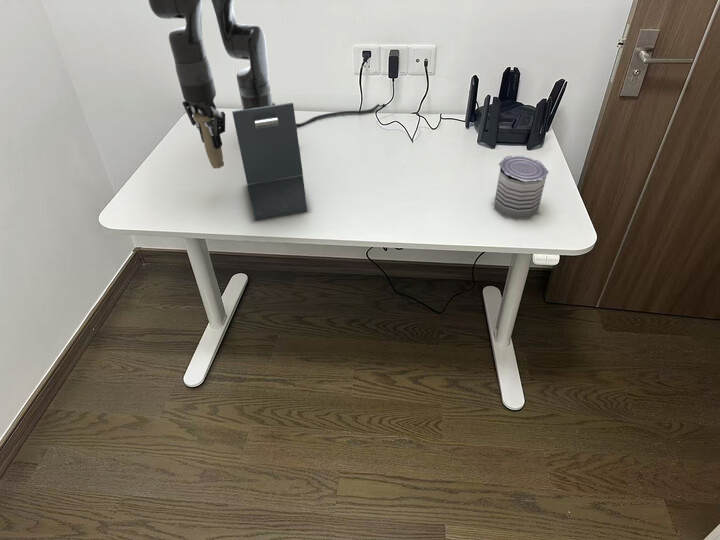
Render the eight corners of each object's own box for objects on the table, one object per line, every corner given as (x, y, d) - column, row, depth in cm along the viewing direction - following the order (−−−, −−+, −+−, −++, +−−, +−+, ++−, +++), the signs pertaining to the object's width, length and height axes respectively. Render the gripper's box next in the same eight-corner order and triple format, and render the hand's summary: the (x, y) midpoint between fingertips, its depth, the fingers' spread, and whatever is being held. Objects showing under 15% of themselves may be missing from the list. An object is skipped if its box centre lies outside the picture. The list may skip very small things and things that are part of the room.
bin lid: (232, 111, 116) (233, 119, 112) (292, 102, 118) (296, 109, 114) (246, 182, 126) (248, 192, 122) (302, 173, 129) (306, 182, 124)
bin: (248, 186, 146) (240, 151, 138) (296, 178, 148) (291, 143, 141) (254, 221, 134) (247, 185, 126) (307, 211, 136) (302, 175, 129)
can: (501, 190, 140) (508, 150, 132) (544, 201, 136) (554, 160, 128) (486, 212, 133) (493, 171, 125) (530, 225, 129) (540, 183, 121)
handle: (230, 159, 138) (217, 105, 128) (223, 172, 133) (209, 118, 123) (212, 159, 139) (198, 105, 128) (204, 172, 134) (189, 117, 124)
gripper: (228, 79, 119) (242, 147, 130) (189, 65, 126) (206, 130, 137) (201, 91, 115) (218, 159, 126) (163, 75, 122) (183, 142, 133)
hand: (212, 144), depth 132 cm, fingers closed on handle, 4 cm apart
